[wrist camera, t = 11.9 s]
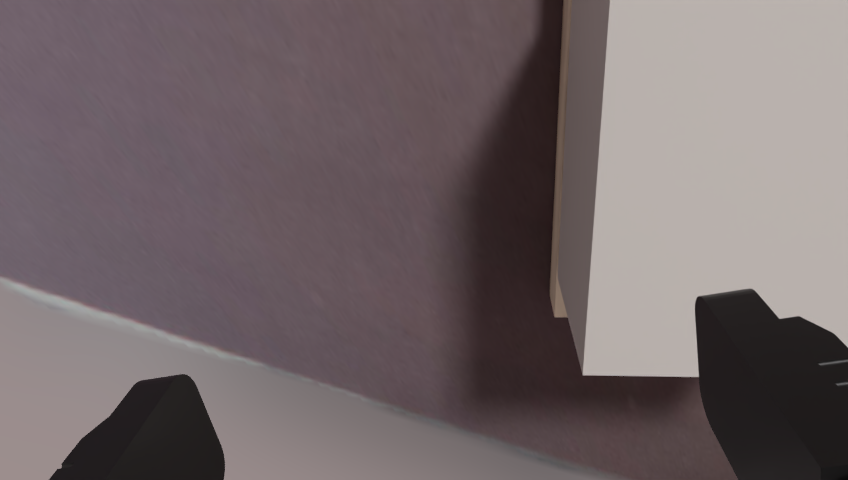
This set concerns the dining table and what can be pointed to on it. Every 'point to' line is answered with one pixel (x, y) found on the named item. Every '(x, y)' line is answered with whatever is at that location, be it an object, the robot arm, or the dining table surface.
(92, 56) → the dining table surface
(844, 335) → the cover
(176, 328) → the dining table surface
